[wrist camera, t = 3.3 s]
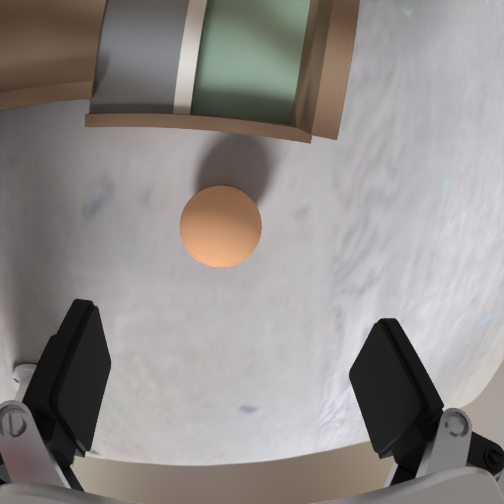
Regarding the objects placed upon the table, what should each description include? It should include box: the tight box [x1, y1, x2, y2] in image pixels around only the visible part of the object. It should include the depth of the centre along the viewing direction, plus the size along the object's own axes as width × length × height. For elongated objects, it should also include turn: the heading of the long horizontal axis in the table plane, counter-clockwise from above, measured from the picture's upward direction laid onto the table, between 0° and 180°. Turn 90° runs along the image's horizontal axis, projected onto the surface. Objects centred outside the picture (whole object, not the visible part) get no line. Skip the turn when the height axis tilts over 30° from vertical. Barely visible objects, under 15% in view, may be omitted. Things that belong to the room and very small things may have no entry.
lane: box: [0, 0, 360, 144], centre depth 11 cm, size 15×25×7 cm, turn 82°
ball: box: [180, 185, 262, 267], centre depth 19 cm, size 5×5×5 cm
